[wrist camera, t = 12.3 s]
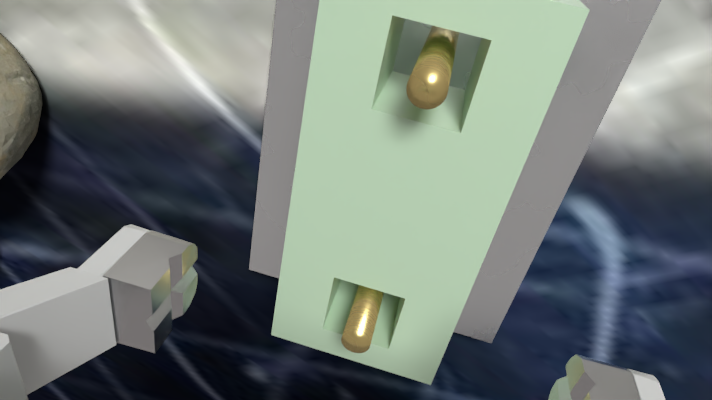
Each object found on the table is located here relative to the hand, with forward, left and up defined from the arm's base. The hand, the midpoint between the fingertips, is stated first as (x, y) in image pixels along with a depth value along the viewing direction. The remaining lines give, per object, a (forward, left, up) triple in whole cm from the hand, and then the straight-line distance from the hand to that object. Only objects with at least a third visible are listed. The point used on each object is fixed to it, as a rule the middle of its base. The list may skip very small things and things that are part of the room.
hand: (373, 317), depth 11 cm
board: (+1, 0, -10) cm, 10 cm away
